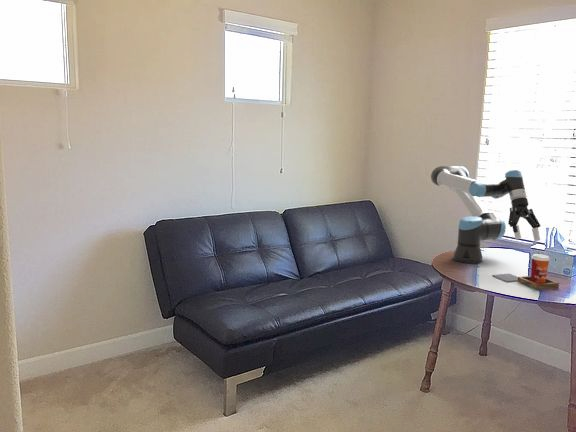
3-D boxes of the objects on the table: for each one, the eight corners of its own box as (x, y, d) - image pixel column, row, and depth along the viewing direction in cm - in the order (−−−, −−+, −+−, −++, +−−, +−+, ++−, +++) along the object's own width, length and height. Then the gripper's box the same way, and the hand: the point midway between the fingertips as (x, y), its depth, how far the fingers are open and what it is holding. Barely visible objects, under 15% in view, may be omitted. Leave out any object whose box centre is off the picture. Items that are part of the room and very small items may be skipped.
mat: (492, 276, 239) (492, 274, 238) (509, 274, 242) (509, 273, 241) (507, 282, 229) (507, 281, 229) (524, 280, 232) (524, 279, 232)
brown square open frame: (517, 282, 230) (517, 277, 229) (537, 280, 233) (538, 275, 233) (537, 290, 219) (537, 285, 218) (558, 288, 222) (559, 282, 222)
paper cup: (536, 288, 221) (540, 258, 219) (524, 283, 229) (527, 254, 226) (550, 287, 223) (554, 257, 221) (538, 282, 231) (541, 253, 228)
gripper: (507, 194, 239) (516, 235, 232) (542, 199, 249) (551, 239, 243) (495, 199, 245) (503, 240, 238) (529, 204, 256) (538, 243, 249)
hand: (528, 239), depth 240 cm, fingers open, 13 cm apart
